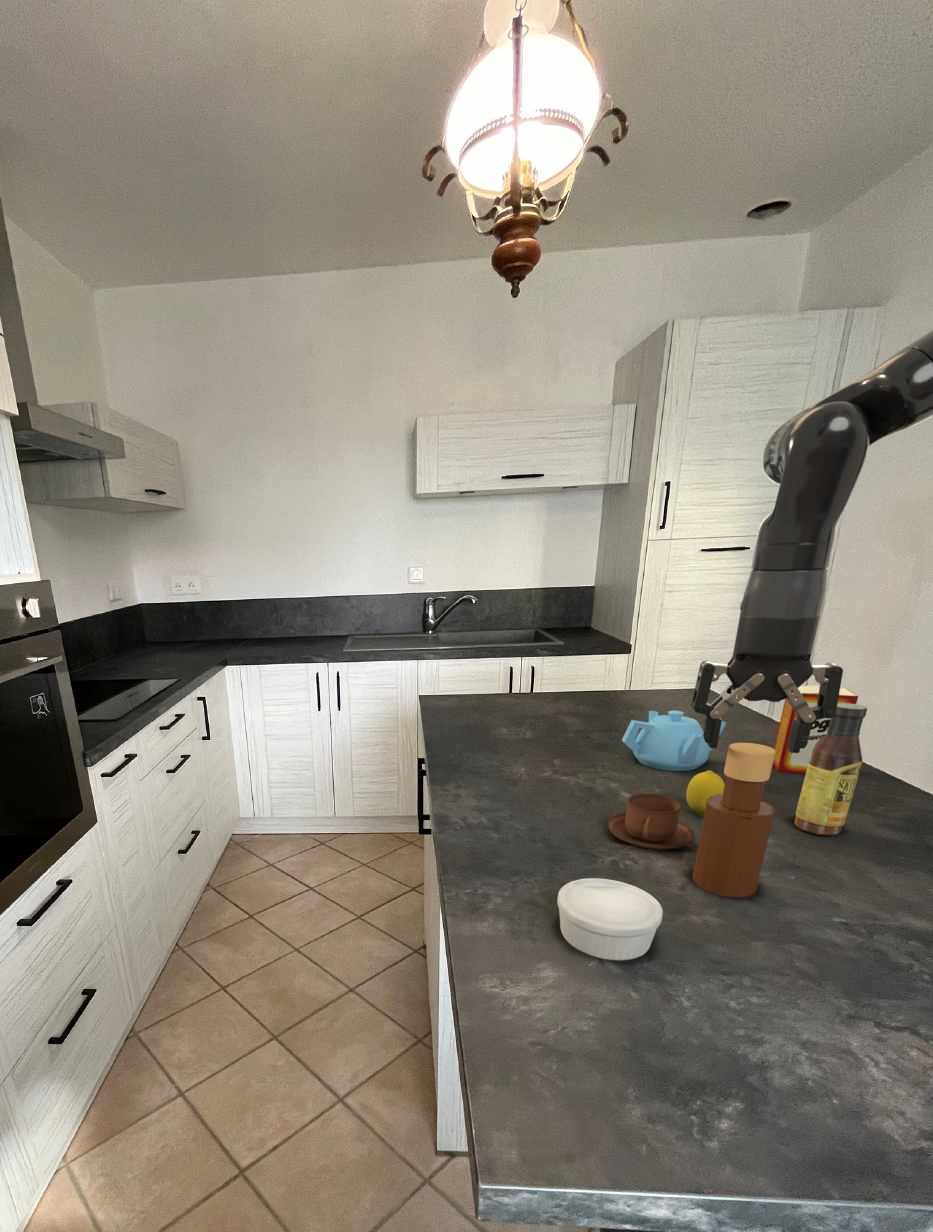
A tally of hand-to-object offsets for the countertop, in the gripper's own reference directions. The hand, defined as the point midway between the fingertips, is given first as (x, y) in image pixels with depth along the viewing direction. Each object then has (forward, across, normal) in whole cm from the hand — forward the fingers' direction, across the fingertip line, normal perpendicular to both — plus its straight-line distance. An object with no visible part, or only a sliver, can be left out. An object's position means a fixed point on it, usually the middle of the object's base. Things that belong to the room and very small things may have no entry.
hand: (751, 748), depth 75 cm
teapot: (+20, -1, +53) cm, 56 cm away
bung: (+5, 0, 0) cm, 5 cm away
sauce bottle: (+20, +17, +24) cm, 35 cm away
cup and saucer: (+20, -8, +13) cm, 25 cm away
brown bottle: (+19, 0, 0) cm, 19 cm away
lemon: (+20, +1, +25) cm, 32 cm away
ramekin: (+20, -15, -17) cm, 30 cm away
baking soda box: (+20, +23, +55) cm, 63 cm away
